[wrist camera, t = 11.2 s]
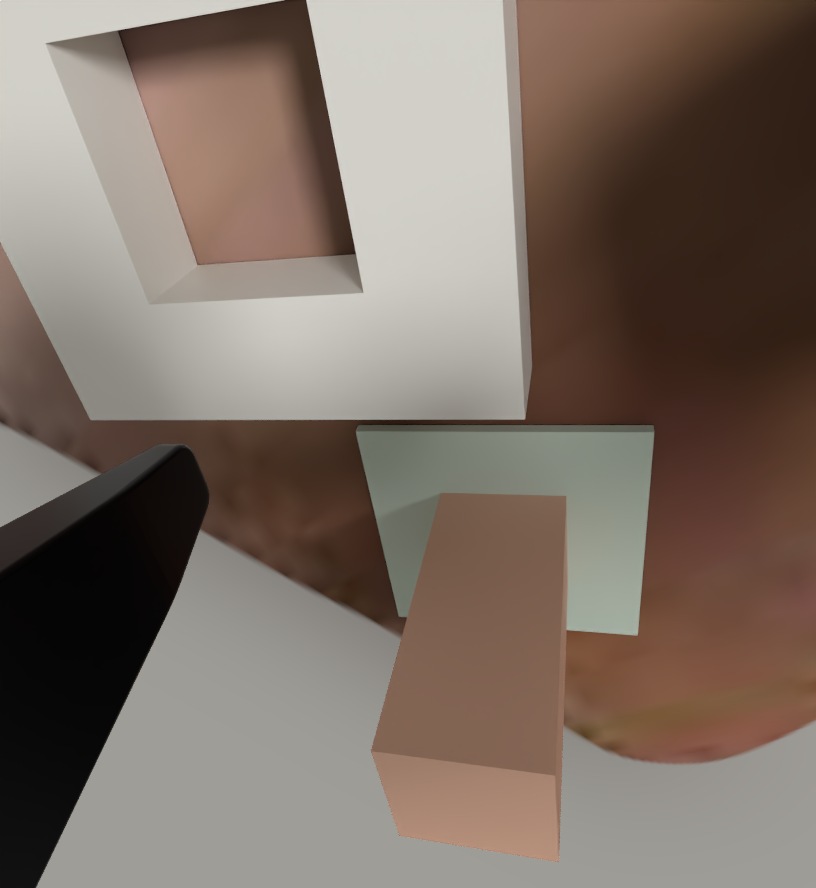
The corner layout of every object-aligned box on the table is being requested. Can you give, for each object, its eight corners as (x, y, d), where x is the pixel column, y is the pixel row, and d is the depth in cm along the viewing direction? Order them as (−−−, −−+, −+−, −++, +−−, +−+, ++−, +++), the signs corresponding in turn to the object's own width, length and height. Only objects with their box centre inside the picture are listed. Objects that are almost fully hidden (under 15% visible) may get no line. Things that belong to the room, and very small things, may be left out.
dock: (502, -300, 13) (483, -356, 10) (532, 366, 21) (525, 419, 18) (-84, -133, 16) (-197, -147, 14) (138, 375, 25) (90, 420, 22)
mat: (653, 425, 21) (654, 432, 21) (637, 627, 27) (637, 635, 27) (358, 425, 24) (355, 431, 23) (400, 609, 29) (398, 616, 29)
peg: (566, 495, 23) (554, 775, 15) (567, 584, 26) (559, 861, 18) (441, 492, 24) (370, 750, 16) (454, 577, 27) (399, 835, 19)
